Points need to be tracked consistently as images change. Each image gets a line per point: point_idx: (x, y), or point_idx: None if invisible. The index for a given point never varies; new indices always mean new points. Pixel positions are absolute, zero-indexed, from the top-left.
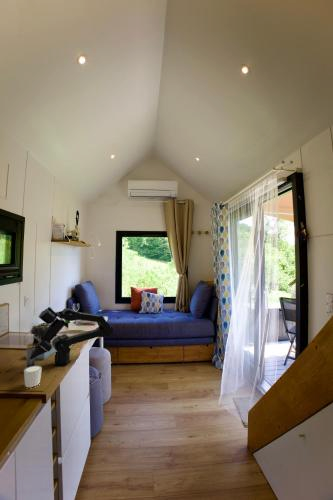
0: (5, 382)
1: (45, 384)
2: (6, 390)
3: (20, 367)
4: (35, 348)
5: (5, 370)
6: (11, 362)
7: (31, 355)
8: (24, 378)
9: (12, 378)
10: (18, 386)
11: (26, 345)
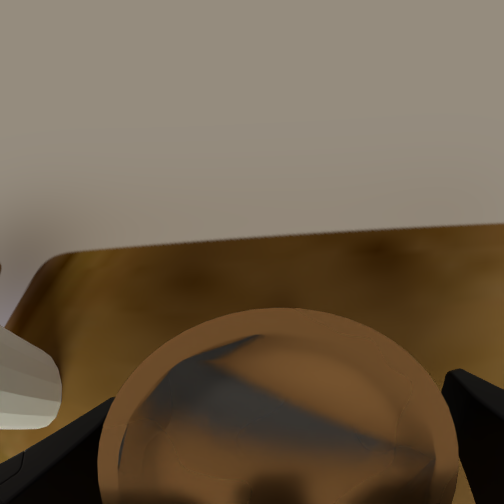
0: (165, 248)
1: (11, 445)
2: (64, 260)
3: (421, 338)
4: (481, 502)
5: (399, 233)
6: None
7: (79, 419)
8: (7, 330)
9: (204, 287)
10: (63, 318)
11: (298, 309)
